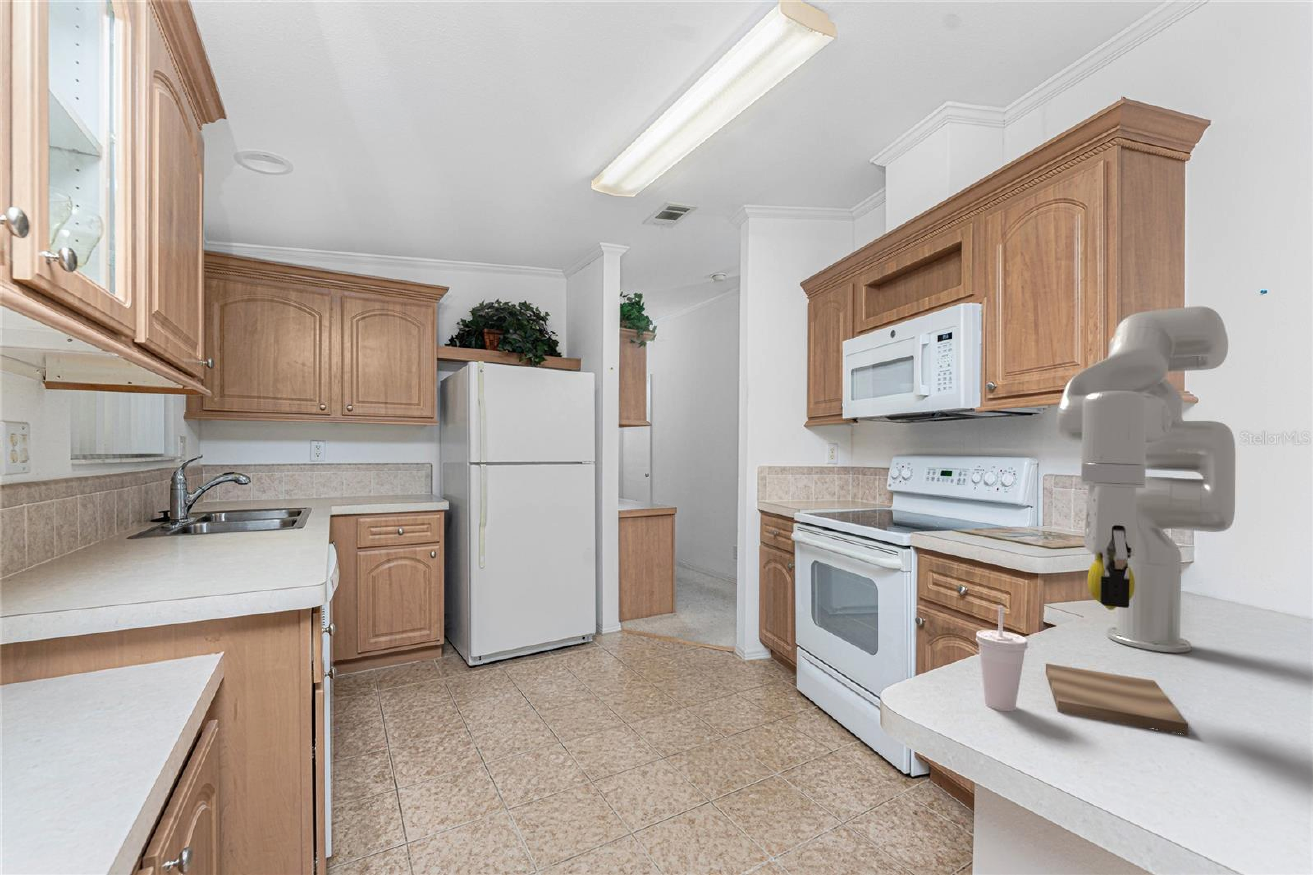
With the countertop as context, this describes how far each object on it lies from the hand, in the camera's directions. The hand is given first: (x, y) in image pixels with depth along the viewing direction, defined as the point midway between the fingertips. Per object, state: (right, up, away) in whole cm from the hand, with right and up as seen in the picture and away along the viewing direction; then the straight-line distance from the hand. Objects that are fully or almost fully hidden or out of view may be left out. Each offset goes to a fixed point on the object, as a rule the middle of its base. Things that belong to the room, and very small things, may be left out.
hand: (1110, 600), depth 90 cm
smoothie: (-18, -14, -3) cm, 23 cm away
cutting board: (0, -14, 0) cm, 14 cm away
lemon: (0, -2, 0) cm, 2 cm away
